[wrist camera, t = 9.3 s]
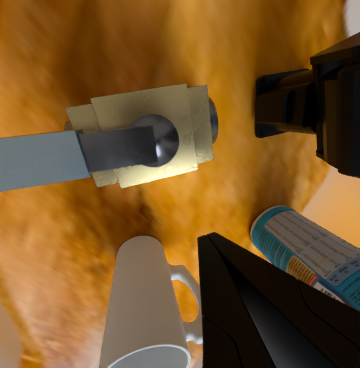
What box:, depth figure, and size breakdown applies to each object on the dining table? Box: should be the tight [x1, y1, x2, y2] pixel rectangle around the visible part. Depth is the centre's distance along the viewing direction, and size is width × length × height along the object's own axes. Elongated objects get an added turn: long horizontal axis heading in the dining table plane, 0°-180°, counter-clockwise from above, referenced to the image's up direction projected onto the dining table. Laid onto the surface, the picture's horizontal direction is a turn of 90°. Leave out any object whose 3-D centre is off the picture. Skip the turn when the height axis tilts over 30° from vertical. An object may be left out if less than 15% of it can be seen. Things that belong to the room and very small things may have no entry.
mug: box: [99, 236, 203, 368], centre depth 18 cm, size 10×7×12 cm, turn 81°
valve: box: [64, 83, 218, 188], centre depth 15 cm, size 12×6×6 cm, turn 100°
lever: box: [0, 114, 179, 192], centre depth 10 cm, size 3×11×2 cm, turn 96°
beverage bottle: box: [250, 205, 360, 311], centre depth 18 cm, size 8×8×20 cm
